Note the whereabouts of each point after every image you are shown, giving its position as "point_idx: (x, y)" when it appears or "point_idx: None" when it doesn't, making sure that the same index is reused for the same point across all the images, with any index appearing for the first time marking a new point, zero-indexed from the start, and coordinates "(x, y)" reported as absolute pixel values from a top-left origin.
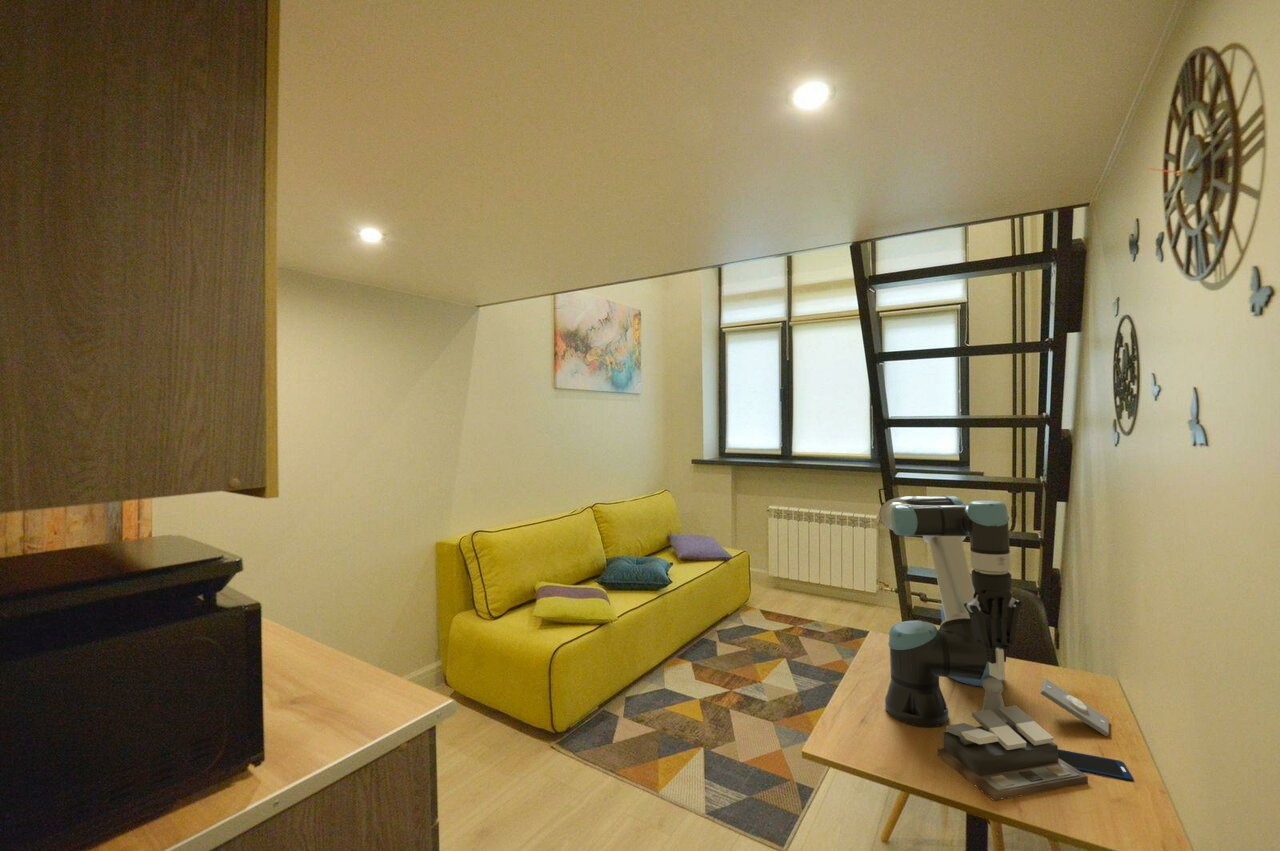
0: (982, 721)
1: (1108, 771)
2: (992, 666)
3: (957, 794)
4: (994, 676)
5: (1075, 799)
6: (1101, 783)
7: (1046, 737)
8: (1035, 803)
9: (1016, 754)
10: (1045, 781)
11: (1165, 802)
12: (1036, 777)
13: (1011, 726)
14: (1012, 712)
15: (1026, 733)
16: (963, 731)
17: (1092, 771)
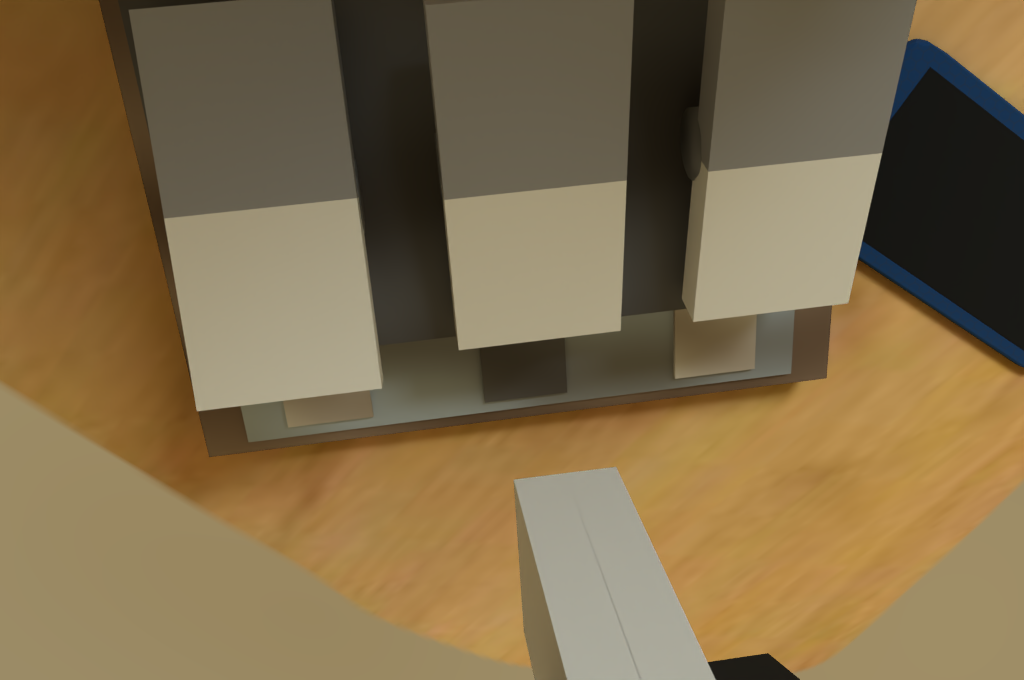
0: (437, 127)
1: (996, 305)
2: (544, 637)
3: (38, 370)
4: (521, 567)
5: (636, 457)
6: (872, 367)
7: (801, 300)
8: (420, 466)
9: None
10: (568, 400)
11: (991, 504)
12: (540, 381)
13: (694, 111)
14: (804, 47)
15: (697, 259)
16: (186, 217)
17: (919, 296)
